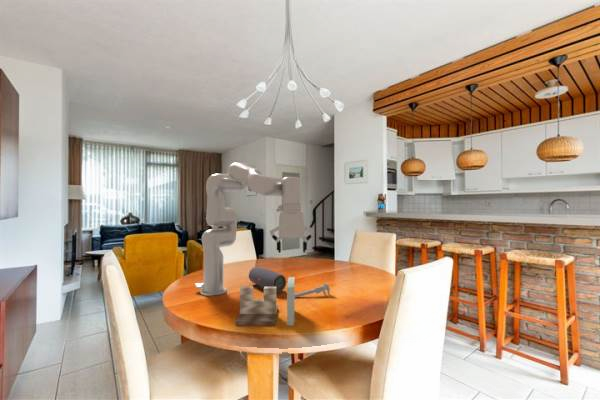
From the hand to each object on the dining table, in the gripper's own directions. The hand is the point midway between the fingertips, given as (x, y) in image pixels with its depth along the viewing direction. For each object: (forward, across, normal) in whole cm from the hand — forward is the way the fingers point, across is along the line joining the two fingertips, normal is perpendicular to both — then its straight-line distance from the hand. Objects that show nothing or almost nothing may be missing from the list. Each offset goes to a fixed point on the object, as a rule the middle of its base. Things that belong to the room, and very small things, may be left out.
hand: (291, 252), depth 110 cm
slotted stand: (+26, -14, +1) cm, 29 cm away
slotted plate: (+26, 0, 0) cm, 26 cm away
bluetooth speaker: (+26, -14, +37) cm, 48 cm away
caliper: (+26, +7, +25) cm, 37 cm away
